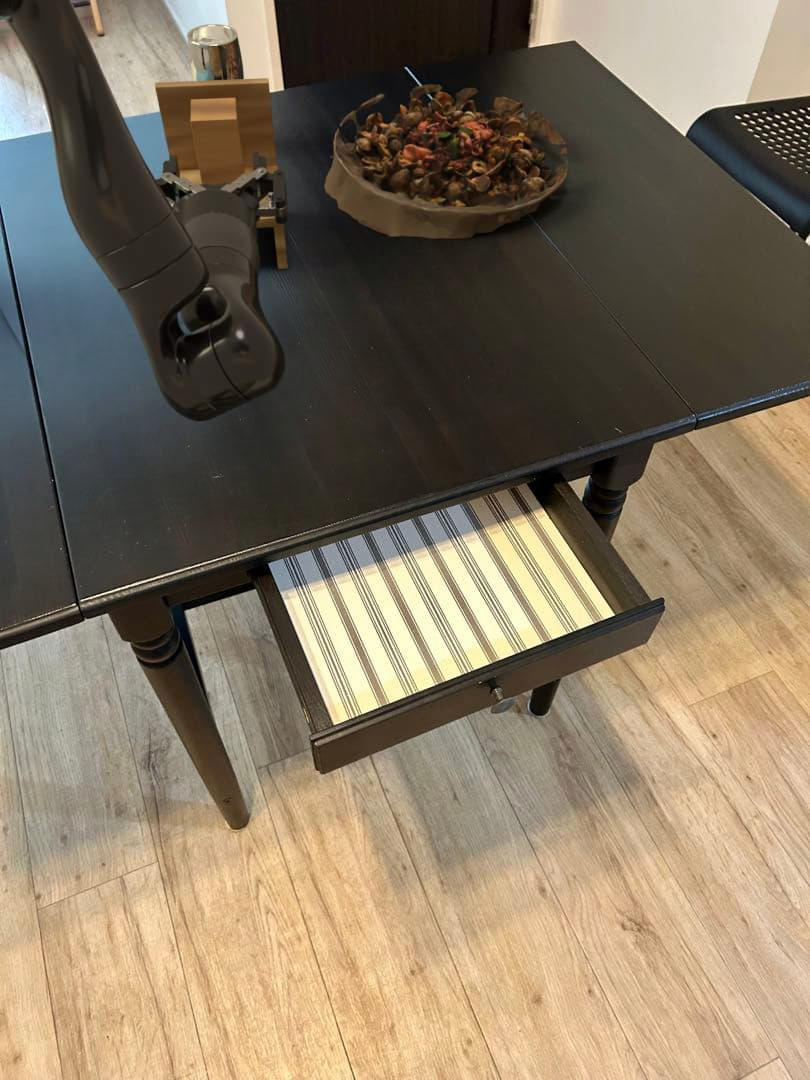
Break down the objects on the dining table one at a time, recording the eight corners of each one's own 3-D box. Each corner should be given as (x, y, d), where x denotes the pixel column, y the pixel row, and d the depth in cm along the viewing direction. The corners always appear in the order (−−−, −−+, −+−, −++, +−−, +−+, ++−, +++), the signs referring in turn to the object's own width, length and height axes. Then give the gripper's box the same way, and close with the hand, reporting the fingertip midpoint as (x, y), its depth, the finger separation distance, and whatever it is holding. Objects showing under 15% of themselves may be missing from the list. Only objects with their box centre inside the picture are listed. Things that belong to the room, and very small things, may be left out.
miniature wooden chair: (287, 268, 102) (274, 132, 89) (181, 275, 101) (151, 138, 88) (281, 211, 110) (268, 77, 97) (182, 216, 109) (155, 82, 95)
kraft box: (248, 203, 99) (236, 118, 91) (205, 205, 98) (190, 120, 90) (246, 181, 101) (235, 97, 94) (205, 183, 101) (190, 99, 93)
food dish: (473, 102, 132) (480, 50, 126) (611, 203, 116) (626, 148, 110) (279, 151, 119) (276, 95, 113) (404, 271, 103) (408, 214, 97)
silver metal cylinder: (218, 131, 123) (201, 19, 111) (260, 140, 121) (248, 28, 109) (195, 153, 119) (175, 40, 107) (239, 162, 117) (224, 49, 105)
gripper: (290, 209, 76) (279, 123, 85) (131, 218, 74) (138, 129, 84) (296, 279, 82) (285, 191, 91) (149, 289, 80) (154, 198, 90)
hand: (215, 161), depth 87 cm, fingers open, 8 cm apart
